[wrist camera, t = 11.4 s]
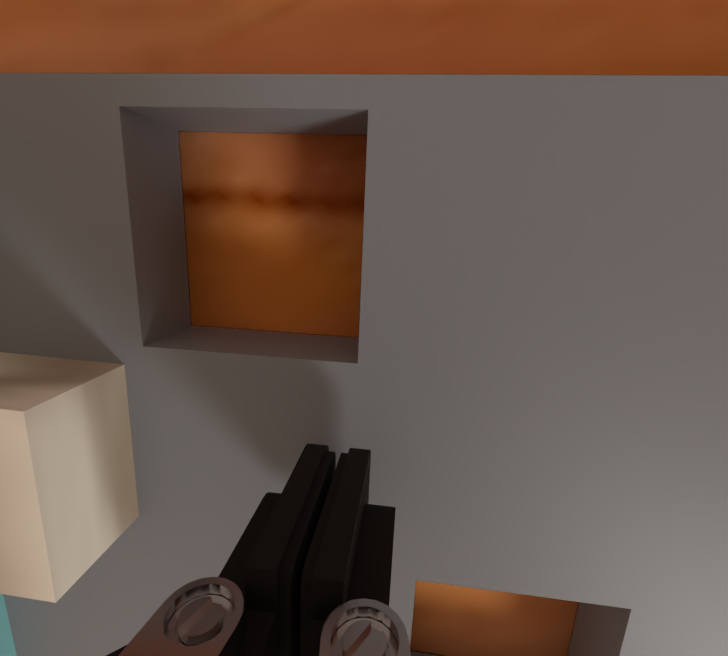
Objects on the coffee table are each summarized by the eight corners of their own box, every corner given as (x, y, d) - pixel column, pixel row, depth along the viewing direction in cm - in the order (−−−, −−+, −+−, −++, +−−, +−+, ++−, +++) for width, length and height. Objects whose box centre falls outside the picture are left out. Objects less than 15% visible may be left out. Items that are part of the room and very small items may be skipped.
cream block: (124, 364, 11) (23, 412, 8) (139, 516, 12) (55, 602, 9) (-35, 348, 12) (-182, 387, 9) (-6, 495, 13) (-126, 572, 10)
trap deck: (1096, 116, 9) (1688, 19, 5) (821, 729, 14) (1001, 947, 10) (-34, 102, 12) (-273, 34, 8) (59, 609, 17) (-60, 736, 13)
